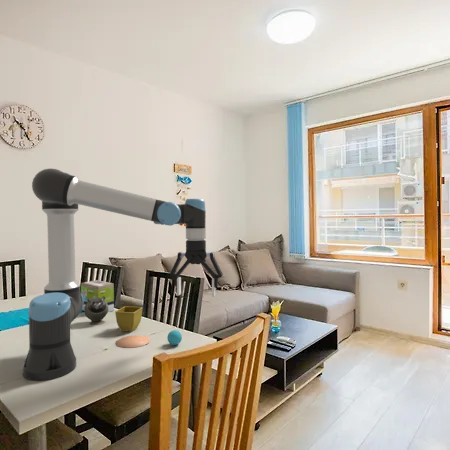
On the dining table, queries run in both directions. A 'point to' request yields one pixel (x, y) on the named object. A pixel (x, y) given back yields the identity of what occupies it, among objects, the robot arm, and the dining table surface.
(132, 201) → the robot arm
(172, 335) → the ball
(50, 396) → the dining table surface
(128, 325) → the flower pot
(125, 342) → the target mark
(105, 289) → the tea box
